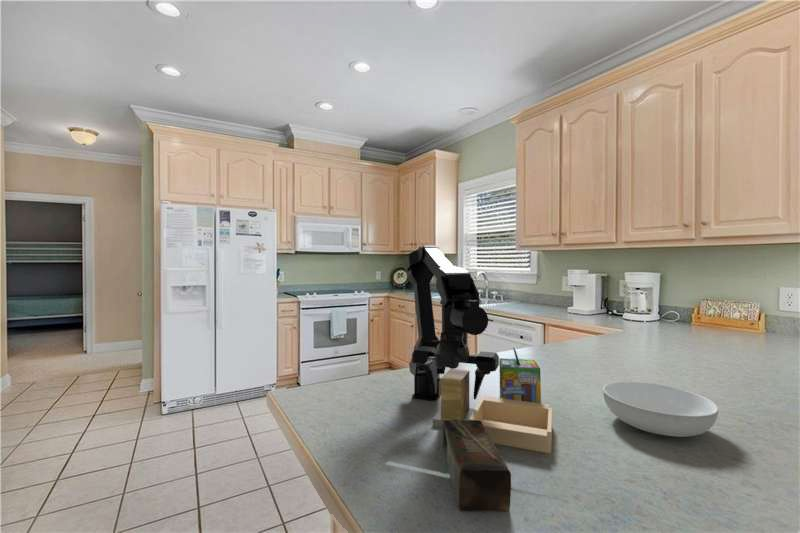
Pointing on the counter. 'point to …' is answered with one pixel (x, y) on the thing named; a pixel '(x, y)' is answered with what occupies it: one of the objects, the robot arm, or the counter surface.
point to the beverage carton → (475, 467)
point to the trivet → (439, 422)
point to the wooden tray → (516, 423)
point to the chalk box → (520, 380)
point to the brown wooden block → (455, 394)
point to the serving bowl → (660, 408)
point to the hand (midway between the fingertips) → (454, 396)
